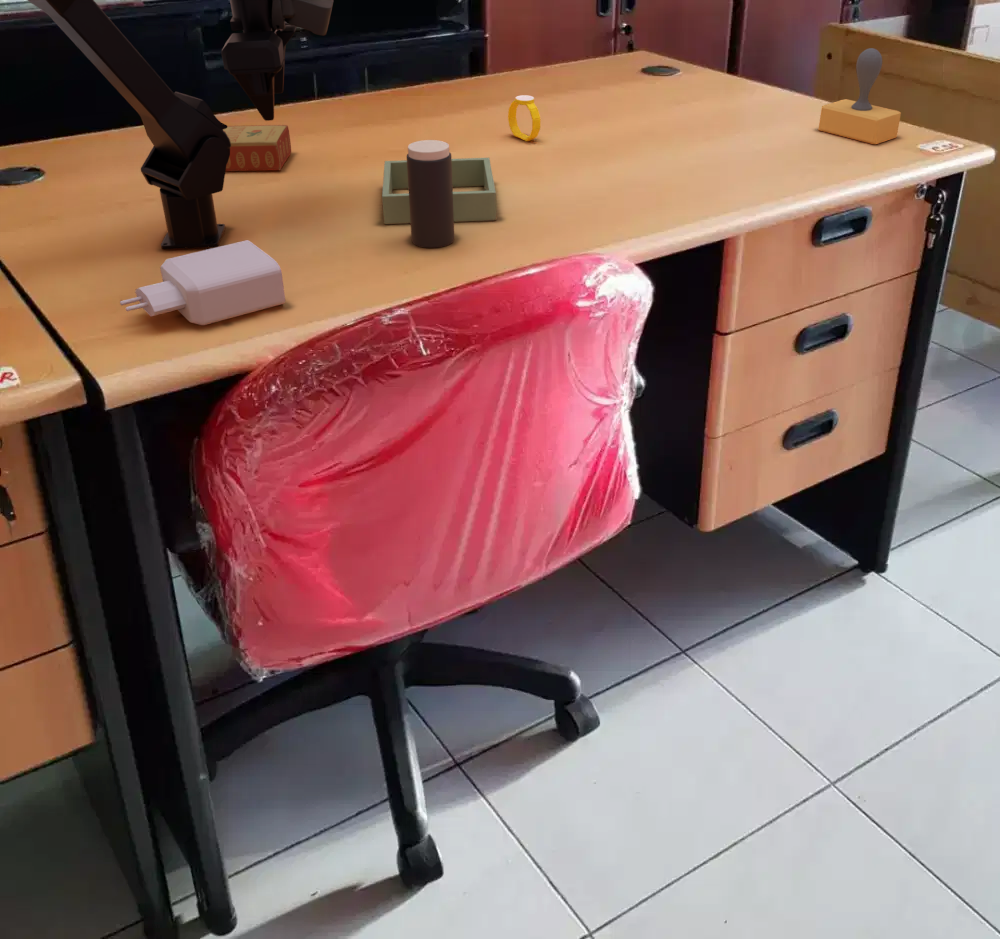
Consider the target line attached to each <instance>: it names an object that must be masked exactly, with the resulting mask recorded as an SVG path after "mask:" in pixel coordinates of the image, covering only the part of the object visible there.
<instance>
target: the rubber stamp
mask: <svg viewBox="0 0 1000 939" xmlns="http://www.w3.org/2000/svg"><path fill="white" fill-rule="evenodd" d="M882 66H883V56H882V54H881V52H880V51H879V50H878V49H877V48H872V47H870V48H866V49H865V50H863V51H862V52H860V54H859V55H858V57H857V60H856V66H855V67H856V68H855V70H856V77H857V82H858V87H859V96H858V98H857V100H852V99H846V98H844V99H841V100H837V101H834V102H830V103H827V104H823V105H821V109H820V115H819V116H820V117H819V123H818V129H817V130H818V131H820V132H824V133H828V134H831V135H835V136H840V137H844V138H847V139H851V140H854V141H855V140H856V141H859V142H862V143H866V144H871V145H877V144H881V143H884V142H886V141H889V140H893V139H896V138H897V137H898V132H899V127H900V121H901V115H902V112H900V111H899V110H896V109H890V108H886V107H882V106H878V105H873V104H871V102H870V101H869V95H870V92H871V89H872V87H873V86H874V83H875V82H876V80H877V78H878V76H879V74H880V72H881V71H882V68H883V67H882Z"/></svg>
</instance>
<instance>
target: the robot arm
mask: <svg viewBox="0 0 1000 939" xmlns="http://www.w3.org/2000/svg"><path fill="white" fill-rule="evenodd" d="M27 2H29V3H31V4H32V5H34V6H35V7H37V9H40V10H41V11H42V12H44V14H46V15H47V16H49V18H50V19H51V20H52V21H53V22H54V23H55V24H56V25H57V26H58V27H59V29H60V30H61V31H62V32H63V33H64V34H65V35H66V36H67V38H69V40H71V42H72V43H73V44H74V45H75V46H76V47H77V49H79V50H80V51H81V53H82V54H83V55H84V56H85V57H86V58H87V59H88V60H89V62H91V64H93V66H94V67H95V68H96V69H97V70H98V71H99V73H101V74H102V76H103V77H104V78H105V79H106V80H107V81H108V82H109V83H110V84H111V86H113V88H114V89H115V90H116V91H117V92H118V93H119V94H120V95H121V96H122V98H124V99H125V100H126V102H127V103H128V104H129V105H130V106H131V107H132V108H133V109H134V110H135V112H136V113H137V114H138V115H139V117H140V119H141V121H142V124H143V128H144V131H145V133H146V136H147V138H148V139H149V140H150V142H151V143H152V145H153V147H152V148H151V149H150V152H149V153H148V155H147V157H146V159H145V160H144V161H143V163H142V165H141V166H140V173H141V174H142V176H143V177H144V179H145V181H146V182H147V184H148V185H150V186H154V187H157V188H159V194H160V200H161V205H162V210H163V215H164V220H165V225H166V230H167V232H166V234H165V236H164V238H163V240H162V241H161V243H160V247H161V249H162V250H179V249H204V248H205V249H207V248H208V249H211V248H216V247H220V243H221V241H222V238H223V236H224V234H225V231H226V224H224V223H218V222H217V221H218V220H217V214H216V210H215V202H214V198H213V197H214V196H213V194H217V193H221V192H222V191H223V190H224V184H225V177H226V164H227V163H228V160H229V156H230V147H231V142H230V139H229V137H228V136H227V134H226V133H225V132H224V131H223V129H226V128H227V126H228V125H227V124H226V123H223V122H221V121H220V120H219V119H218V118H217V117H216V115H215V114H214V112H213V110H212V109H211V107H210V106H209V104H208V102H206V101H205V100H204V99H201V98H198V97H195V96H191V95H189V94H185V93H181V92H179V91H175V92H173V91H172V89H171V88H170V86H168V85H167V84H166V82H165V81H164V80H163V79H162V78H161V76H160V75H159V73H158V72H156V71H155V69H154V68H153V67H152V66H151V65H150V64H149V62H148V61H147V60H146V59H145V58H144V57H143V56H142V55H141V53H140V52H139V51H138V50H137V49H136V47H135V46H134V45H133V44H132V43H131V42H130V41H129V39H128V38H127V37H126V36H125V35H124V34H123V33H122V32H121V30H120V29H119V28H118V26H117V25H115V22H113V21H112V20H111V18H110V17H109V16H108V15H107V13H105V11H103V9H102V8H101V7H100V6H99V5H98V3H97V2H96V1H95V0H27ZM229 3H230V8H231V14H232V17H231V19H230V21H229V24H230V29H231V31H232V33H231V34H230V36H229V37H228V39H227V40H226V41H225V43H224V46H223V47H222V48H221V52H220V54H221V59H222V64H223V68H224V70H225V71H226V70H227V71H228V73H229V74H230V75H232V76H233V77H234V79H235V81H236V82H237V83H238V84H239V85H240V87H241V88H242V89H243V91H244V92H245V94H246V95H247V96H248V98H249V99H250V101H251V102H252V104H253V105H254V107H255V109H256V110H257V111H258V113H259V115H260V116H261V118H262V119H263V120H264V121H265V122H267V121H270V122H271V121H274V119H275V94H283V92H284V85H285V84H284V83H285V64H286V45H287V44H288V43H289V41H290V40H291V38H292V37H293V36H294V35H295V32H296V30H297V28H300V29H304V30H306V31H310V32H312V33H313V34H314V35H316V36H326V35H327V32H328V28H329V24H330V20H331V15H332V12H333V11H332V10H333V6H334V0H229ZM286 23H287V24H286ZM236 31H237V32H236ZM238 31H239V32H238ZM240 31H243V32H240Z"/></svg>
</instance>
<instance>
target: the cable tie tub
mask: <svg viewBox="0 0 1000 939" xmlns="http://www.w3.org/2000/svg"><path fill="white" fill-rule="evenodd" d="M452 159H453V158H452V153H451V152H450V144H449V143H448V142H446V141H443V140H438V139H423V140H417V141H413V142H411V143H409V144H408V145H407V154H406V160H407V173H408V193H409V205H410V222H411V223H410V235H411V237H410V238H411V243H412V244H413V245H415V246H417V247H421V248H427V249H429V248H430V249H434V248H436V249H437V248H443V247H446V246H450V245H452V244H453V243H454V241H455V222H454V212H453V192H454V190H453V189H454V187H453V186H452Z"/></svg>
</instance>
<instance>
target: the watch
mask: <svg viewBox="0 0 1000 939" xmlns="http://www.w3.org/2000/svg"><path fill="white" fill-rule="evenodd" d="M519 106H525V107H526V108H527V110H528V111H529V113H530V117H531V120H532V121H531V131H530V134H529V135H527V134H526V133H524V132H522V131H521V129H520V127H519V124H518V120H517V111H518V107H519ZM507 113H508V114H507V121H508V127H509V129H510V131H511V133H512V135H513V137H516V138H518V139H521V140H522V141H525V142H530V141H533V140H535V139H536V138H537V137H538V136H539V133H540V132H541V131H540V130H541V121H542V120H541V119H542V118H541V115H540V111H539V109H538V107H537V106H536V104H535V97H534V96H532V95H527V94H524V95H523V94H521V95H517V96H515V98H514V100H513V101H511V103H510V105H509V107H508V111H507Z"/></svg>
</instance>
